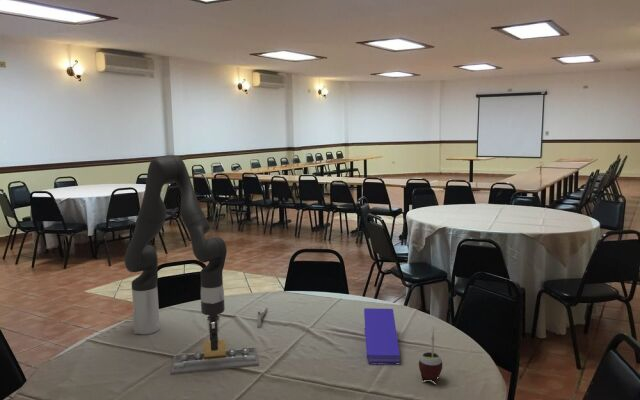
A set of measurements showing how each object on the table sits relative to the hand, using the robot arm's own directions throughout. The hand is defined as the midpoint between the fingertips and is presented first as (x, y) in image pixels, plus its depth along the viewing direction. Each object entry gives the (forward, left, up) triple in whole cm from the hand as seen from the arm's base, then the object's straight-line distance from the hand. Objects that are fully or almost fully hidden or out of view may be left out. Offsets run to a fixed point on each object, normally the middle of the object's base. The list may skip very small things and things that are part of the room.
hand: (214, 344), depth 172 cm
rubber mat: (0, 0, -6) cm, 6 cm away
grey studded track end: (+7, 0, -5) cm, 8 cm away
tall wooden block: (0, 0, -5) cm, 5 cm away
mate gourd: (+65, -27, -6) cm, 71 cm away
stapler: (+57, -1, -7) cm, 58 cm away
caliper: (+19, +35, -7) cm, 40 cm away
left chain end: (-6, 0, -5) cm, 8 cm away
